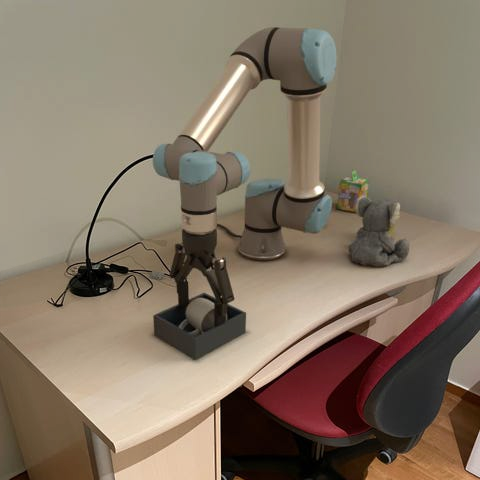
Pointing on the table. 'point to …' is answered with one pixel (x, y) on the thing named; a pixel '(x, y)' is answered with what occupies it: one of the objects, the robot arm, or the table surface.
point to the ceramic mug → (200, 316)
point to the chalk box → (351, 192)
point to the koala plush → (377, 234)
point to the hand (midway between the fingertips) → (201, 316)
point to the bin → (202, 343)
